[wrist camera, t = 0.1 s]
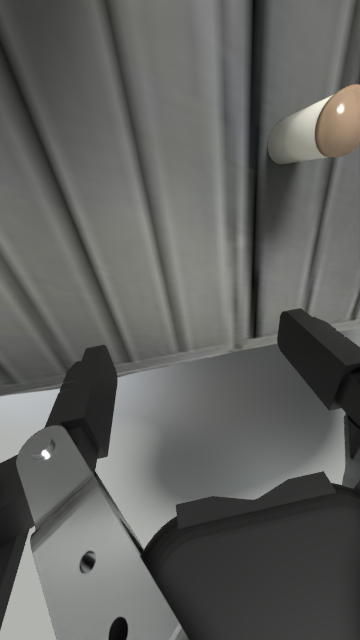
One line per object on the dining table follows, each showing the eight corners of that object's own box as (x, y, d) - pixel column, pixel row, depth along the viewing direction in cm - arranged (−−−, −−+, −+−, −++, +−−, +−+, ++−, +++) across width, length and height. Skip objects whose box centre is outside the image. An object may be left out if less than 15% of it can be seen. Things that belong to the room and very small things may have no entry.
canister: (268, 119, 30) (326, 88, 20) (307, 113, 30) (381, 80, 21) (265, 167, 32) (315, 160, 23) (301, 162, 33) (363, 152, 23)
